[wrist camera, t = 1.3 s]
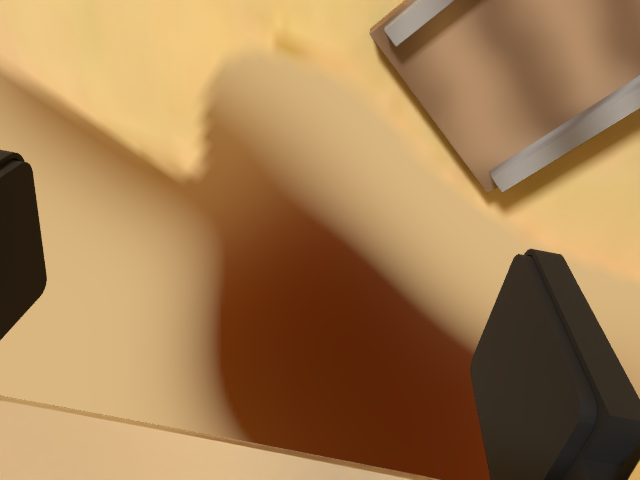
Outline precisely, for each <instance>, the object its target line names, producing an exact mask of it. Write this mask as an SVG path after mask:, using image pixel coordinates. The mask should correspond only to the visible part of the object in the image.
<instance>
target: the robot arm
mask: <svg viewBox="0 0 640 480" xmlns="http://www.w3.org/2000/svg"><path fill="white" fill-rule="evenodd" d="M46 281H47V277H46V269H45V261H44V253H43V246H42V239H41V231H40V223H39V216H38V208H37V201H36V193H35V186H34V178H33V171H32V168H31V166H30V164H28V163H27V162H24V159H23V158H22V156H21V155H20V154H18V153H14V152H9V151H3V150H0V340H1V339H2V338H3V337H4V336H5V334H6V333H7V332H8V331H9V330H10V329H11V328H12V327H13V326H14V325H15V323H16V322H17V321H18V320H19V319H20V318H21V317H22V316H23V315H24V313H25V312H26V311H27V310H28V309H29V308H30V307H31V306H32V305H33V304H34V302H35V301H36V300H37V299H38V298H39V297H40V296H41V294H42V293H43V291H44V289H45V286H46ZM471 380H472V385H473V390H474V396H475V401H476V406H477V411H478V416H479V422H480V427H481V432H482V437H483V442H484V447H485V452H486V457H487V463H488V468H489V473H490V479H491V480H640V399H639V397H638V395H637V394H636V392H635V390H634V388H633V386H632V384H631V383H630V381H629V379H628V377H627V375H626V373H625V371H624V369H623V367H622V366H621V364H620V362H619V360H618V358H617V356H616V354H615V353H614V351H613V349H612V347H611V345H610V343H609V341H608V339H607V338H606V336H605V334H604V332H603V330H602V328H601V326H600V325H599V323H598V321H597V319H596V317H595V315H594V313H593V311H592V310H591V308H590V306H589V304H588V302H587V300H586V298H585V297H584V295H583V293H582V291H581V289H580V287H579V285H578V284H577V282H576V280H575V278H574V276H573V274H572V272H571V271H570V269H569V267H568V265H567V263H566V261H565V259H564V257H563V256H562V255H561V254H556V253H550V252H545V251H540V250H534V249H529V250H527V251H526V253H525V254H524V255H520V254H518V255H516V256H515V257H514V259H513V261H512V263H511V266H510V268H509V271H508V273H507V275H506V278H505V280H504V283H503V285H502V288H501V290H500V292H499V295H498V297H497V300H496V302H495V305H494V307H493V310H492V312H491V314H490V317H489V319H488V322H487V324H486V326H485V329H484V331H483V334H482V336H481V339H480V341H479V344H478V346H477V348H476V351H475V353H474V356H473V358H472V362H471ZM0 480H439V479H434V478H430V477H424V476H420V475H415V474H410V473H404V472H399V471H394V470H389V469H384V468H379V467H374V466H368V465H363V464H358V463H353V462H348V461H343V460H337V459H332V458H327V457H322V456H317V455H312V454H307V453H302V452H296V451H291V450H286V449H281V448H275V447H270V446H266V445H260V444H255V443H250V442H245V441H239V440H234V439H228V438H224V437H218V436H213V435H208V434H203V433H197V432H192V431H187V430H181V429H176V428H171V427H166V426H160V425H155V424H150V423H144V422H139V421H133V420H129V419H123V418H118V417H113V416H107V415H102V414H96V413H91V412H86V411H81V410H75V409H70V408H65V407H59V406H54V405H48V404H43V403H37V402H32V401H26V400H21V399H16V398H10V397H5V396H0Z"/></svg>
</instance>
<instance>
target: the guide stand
mask: <svg viewBox="0 0 640 480" xmlns="http://www.w3.org/2000/svg"><path fill="white" fill-rule="evenodd" d="M370 36H371V37H372V38H373V40H374V41H375V42H376V44H377V45H378V46H379V48H380V49H381V50H382V52H383V53H384V54H385V56H386V57H387V59H388V60H389V61H390V63H391V64H392V65H393V67H394V68H395V69H396V71H397V72H398V73H399V75H400V76H401V77H402V79H403V80H404V81H405V83H406V84H407V85H408V87H409V88H410V90H411V91H412V92H413V94H414V95H415V96H416V98H417V99H418V100H419V102H420V103H421V104H422V106H423V107H424V108H425V110H426V111H427V112H428V114H429V115H430V117H431V118H432V119H433V121H434V122H435V123H436V125H437V126H438V127H439V129H440V130H441V131H442V133H443V134H444V135H445V137H446V138H447V139H448V141H449V142H450V144H451V145H452V146H453V148H454V149H455V150H456V152H457V153H458V154H459V156H460V157H461V158H462V160H463V161H464V162H465V164H466V165H467V166H468V168H469V169H470V171H471V172H472V173H473V175H474V176H475V177H476V179H477V180H478V181H479V183H480V184H481V185H482V187H483V188H484V189H485V191H486V192H487V193H489V192H490V191H492V190H493V189H495V188H497V187H499V189H500V190H501V192H504V191H506V190H507V189H509V188H510V187H512V186H514V185H515V184H517V183H519V182H520V181H522V180H523V179H525V178H527V177H528V176H530V175H532V174H533V173H535V172H537V171H538V170H540V169H541V168H543V167H545V166H546V165H548V164H550V163H551V162H553V161H554V160H556V159H558V158H559V157H561V156H563V155H564V154H566V153H567V152H569V151H571V150H572V149H574V148H576V147H577V146H579V145H580V144H582V143H584V142H585V141H587V140H589V139H590V138H592V137H594V136H595V135H597V134H598V133H600V132H602V131H603V130H605V129H607V128H608V127H610V126H611V125H613V124H615V123H616V122H618V121H620V120H621V119H623V118H624V117H626V116H628V115H629V114H631V113H633V112H634V111H636V110H638V109H639V108H640V0H405V1H403V2H402V3H401V4H400V5H399V6H397V7H396V8H395V9H394V10H393V11H391V12H390V13H389V14H388V15H387V16H385V17H384V18H383V19H382V20H381V21H379V22H378V23H377V24H376V25H375V26H373V27H372V28H371V29H370Z"/></svg>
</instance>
